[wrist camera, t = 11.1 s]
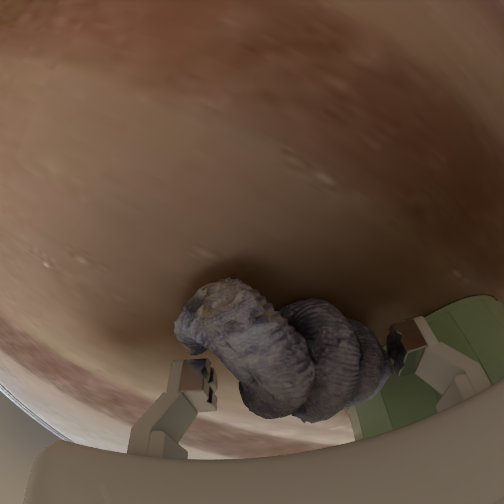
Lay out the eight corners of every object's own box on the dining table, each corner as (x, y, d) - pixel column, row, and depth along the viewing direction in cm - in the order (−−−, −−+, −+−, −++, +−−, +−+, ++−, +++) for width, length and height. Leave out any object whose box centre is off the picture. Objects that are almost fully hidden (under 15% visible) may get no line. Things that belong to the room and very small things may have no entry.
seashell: (181, 278, 13) (358, 322, 15) (155, 393, 11) (345, 414, 13) (200, 238, 8) (433, 308, 10) (157, 430, 6) (418, 430, 8)
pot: (524, 274, 12) (588, 359, 5) (466, 382, 19) (495, 449, 12) (356, 329, 13) (408, 489, 6) (340, 426, 20) (356, 511, 13)
